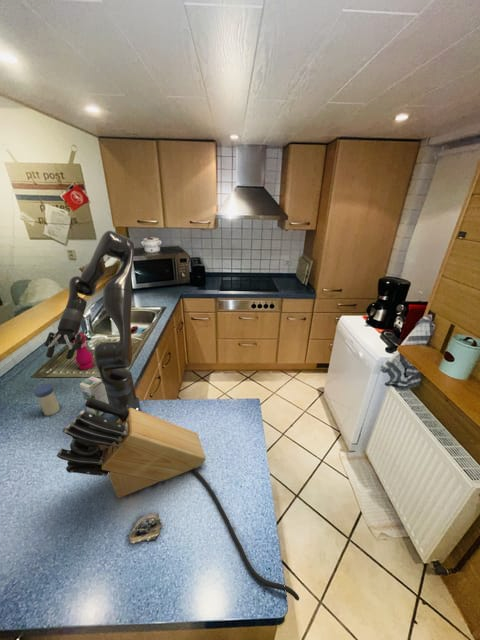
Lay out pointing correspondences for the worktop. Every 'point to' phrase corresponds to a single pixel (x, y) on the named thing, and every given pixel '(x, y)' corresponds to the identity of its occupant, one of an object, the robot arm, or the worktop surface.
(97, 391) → the syrup box
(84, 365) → the pepper mill
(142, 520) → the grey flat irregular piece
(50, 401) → the jar
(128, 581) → the worktop surface
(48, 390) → the lid
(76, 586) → the worktop surface
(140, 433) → the knife block
